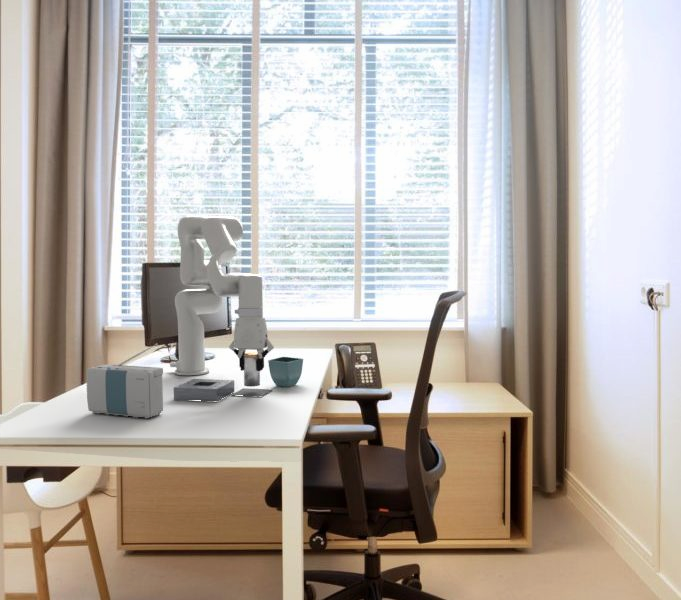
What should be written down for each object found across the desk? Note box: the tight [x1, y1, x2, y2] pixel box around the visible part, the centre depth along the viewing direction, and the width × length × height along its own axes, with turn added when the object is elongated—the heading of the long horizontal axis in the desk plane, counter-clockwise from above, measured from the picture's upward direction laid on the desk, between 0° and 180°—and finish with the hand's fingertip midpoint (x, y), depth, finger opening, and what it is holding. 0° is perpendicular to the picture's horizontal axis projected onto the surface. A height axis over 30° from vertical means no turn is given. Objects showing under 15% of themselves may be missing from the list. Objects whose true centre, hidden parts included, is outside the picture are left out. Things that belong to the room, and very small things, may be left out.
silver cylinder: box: [243, 352, 261, 388], centre depth 199 cm, size 5×5×10 cm
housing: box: [173, 378, 235, 402], centre depth 195 cm, size 14×14×4 cm
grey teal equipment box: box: [86, 343, 164, 419], centre depth 173 cm, size 21×8×20 cm, turn 69°
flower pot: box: [267, 356, 304, 388], centre depth 211 cm, size 9×9×9 cm
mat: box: [231, 387, 273, 397], centre depth 199 cm, size 10×10×1 cm
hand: (251, 369), depth 199 cm, fingers closed on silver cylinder, 5 cm apart
